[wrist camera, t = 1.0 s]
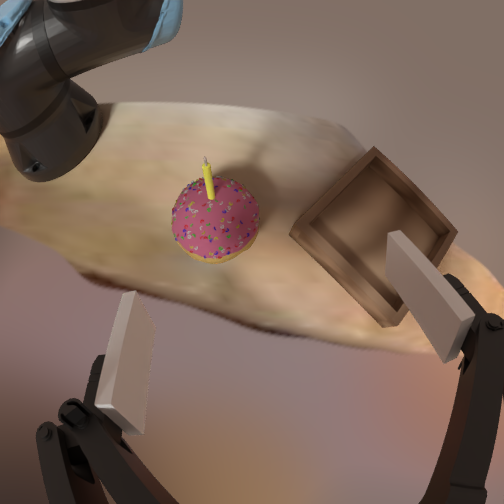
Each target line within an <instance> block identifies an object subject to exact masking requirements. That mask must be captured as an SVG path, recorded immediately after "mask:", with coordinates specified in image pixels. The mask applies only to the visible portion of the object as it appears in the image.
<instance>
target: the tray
mask: <svg viewBox="0 0 504 504" xmlns="http://www.w3.org/2000/svg"><path fill="white" fill-rule="evenodd" d="M398 230H401V231H402V233H403V234H404V235H405V236H406V237H407V238H408V239H409V240H410V241H411V242H412V243H413V244H414V245H415V246H416V247H417V248H418V249H419V250H420V251H421V252H422V253H423V254H424V255H425V257H426V258H427V259H428V260H429V261H430V262H431V263H432V264H433V265H434V266H435V268H436V269H437V267H438V266H439V264H440V262H441V261H442V259H443V257H444V256H445V254H446V252H447V250H448V249H449V247H450V245H451V244H452V242H453V240H454V238H455V236H456V234H457V233H458V231H457V230H456V229H455V227H454V226H453V225H452V224H451V223H450V222H449V221H448V219H447V218H446V217H445V216H444V215H443V214H442V213H441V212H440V211H439V210H438V208H437V207H436V206H435V205H434V204H433V203H432V202H431V201H430V200H429V199H428V198H427V197H426V196H425V195H424V194H423V192H422V191H421V190H420V189H419V188H418V187H417V186H416V185H415V184H414V183H413V182H412V181H411V180H410V179H409V178H408V177H407V176H406V175H405V174H404V173H402V171H400V170H399V169H398V168H397V167H396V166H395V165H394V164H393V163H392V162H391V161H390V160H389V159H388V158H386V157H385V156H384V155H383V154H382V153H381V152H380V151H379V150H378V149H377V148H375V147H374V146H373V147H372V149H370V150H369V151H368V152H367V153H366V154H365V155H364V156H363V157H362V158H361V159H360V160H359V161H358V162H357V163H356V164H355V165H354V166H353V167H352V168H351V169H350V170H349V171H348V172H347V173H346V174H345V175H344V176H343V177H342V178H341V179H340V180H339V181H338V182H337V183H336V184H335V185H334V186H333V187H332V188H331V189H329V190H328V191H327V192H326V193H325V194H324V195H323V196H322V197H321V198H320V199H319V200H318V201H317V202H316V203H315V204H314V205H313V206H312V207H311V208H310V209H309V210H308V211H307V212H306V213H305V214H304V215H303V216H302V217H301V218H300V219H299V220H298V221H297V222H295V224H294V226H293V227H292V229H291V231H290V233H289V235H290V236H291V237H292V238H293V239H294V240H295V241H296V242H297V243H298V244H299V245H300V246H301V247H302V248H303V249H304V250H305V251H306V252H307V253H309V254H310V255H311V256H312V257H313V258H314V259H315V260H316V261H317V262H318V263H319V264H320V265H321V266H322V267H323V268H324V269H325V270H326V271H327V272H328V273H329V274H330V275H331V276H332V277H333V278H334V279H335V280H336V281H337V282H338V283H339V284H340V285H341V286H342V287H343V288H344V289H345V290H346V291H347V292H348V293H349V294H350V295H351V296H352V297H353V298H354V299H355V300H356V301H357V302H358V303H359V304H360V305H361V306H362V307H363V308H364V309H365V310H366V311H367V312H368V313H369V314H370V315H371V316H372V317H373V318H374V319H375V320H376V321H377V322H378V323H379V324H380V325H381V327H382V328H385V327H394V326H398V325H399V323H400V322H401V321H402V319H403V318H404V317H405V315H406V314H407V312H408V311H409V309H408V307H407V306H406V304H405V303H404V301H403V300H402V298H401V297H400V296H399V294H398V293H397V291H396V290H395V288H394V287H393V286H392V284H391V283H390V281H389V280H388V279H387V277H386V276H385V266H386V253H387V236H388V233H389V232H393V231H398Z"/></svg>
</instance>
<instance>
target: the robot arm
mask: <svg viewBox="0 0 504 504" xmlns="http://www.w3.org/2000/svg"><path fill="white" fill-rule="evenodd" d="M182 13H183V0H8V1H6V2H5V3H4V4H2V5H1V6H0V134H1V135H2V136H3V137H4V140H5V142H6V145H7V148H8V150H9V153H10V156H11V158H12V161H13V163H14V165H15V167H16V168H17V170H18V171H19V172H20V173H21V174H22V175H23V176H25V177H26V178H27V179H29V180H31V181H34V182H46V181H50V180H53V179H56V178H58V177H60V176H62V175H64V174H65V173H67V172H68V171H70V170H71V169H72V168H74V167H75V166H76V165H77V164H78V163H79V162H81V160H82V159H83V158H84V157H85V156H86V155H87V154H88V153H89V151H90V150H91V149H92V147H93V146H94V144H95V142H96V140H97V138H98V136H99V134H100V131H101V127H102V113H101V110H100V108H99V106H98V104H97V102H96V101H95V99H94V98H93V97H92V96H91V95H90V94H89V93H87V92H86V91H85V90H84V89H83V88H81V87H80V86H78V85H77V84H76V83H75V82H73V81H72V80H71V79H70V78H72V77H74V76H77V75H79V74H81V73H84V72H86V71H88V70H91V69H94V68H96V67H99V66H102V65H104V64H107V63H110V62H113V61H116V60H119V59H122V58H125V57H128V56H131V55H134V54H137V53H142V52H145V51H147V50H148V49H150V48H153V47H156V46H158V45H162V44H165V43H167V42H169V41H171V40H172V39H173V38H174V37H175V36H176V34H177V33H178V31H179V28H180V25H181V20H182ZM385 276H386V277H387V279H388V280H389V281H390V283H391V284H392V286H393V287H394V288H395V290H396V291H397V293H398V294H399V296H400V297H401V298H402V300H403V301H404V303H405V304H406V306H407V307H408V309H409V310H410V312H411V313H412V315H413V316H414V318H415V319H416V321H417V322H418V324H419V325H420V327H421V328H422V330H423V331H424V333H425V334H426V336H427V338H428V339H429V341H430V342H431V344H432V346H433V347H434V349H435V350H436V352H437V354H438V355H439V357H440V358H441V360H442V362H443V363H447V362H449V361H451V360H453V359H455V358H457V356H458V354H459V352H460V350H462V352H463V353H464V357H463V359H462V361H461V363H460V365H459V367H458V369H460V368H461V372H460V377H459V383H458V388H457V392H456V397H455V402H454V406H453V410H452V414H451V418H450V422H449V425H448V429H447V432H446V436H445V439H444V443H443V446H442V449H441V452H440V456H439V458H438V461H437V464H436V467H435V470H434V472H433V475H432V478H431V480H430V483H429V485H428V488H427V490H426V493H425V495H424V497H423V498H422V500H421V501H420V502H419V504H485V502H486V498H487V490H486V489H485V487H484V486H485V480H486V477H487V473H488V470H489V466H490V462H491V458H492V453H493V449H494V444H495V440H496V434H497V429H498V423H499V417H500V410H501V403H502V394H503V399H504V320H503V319H502V318H501V317H500V316H498V315H496V314H493V313H487V312H486V311H485V310H484V309H483V307H482V306H481V305H480V304H479V303H478V301H477V300H476V299H475V298H474V297H473V295H472V294H471V293H469V291H468V290H467V289H466V287H464V285H463V284H462V283H461V282H460V281H459V279H458V278H456V277H454V276H452V275H451V274H449V273H448V274H446V275H442V274H441V273H440V272H439V271H438V270H437V269H436V268H435V266H434V265H433V264H432V263H431V262H430V261H429V260H428V259H427V258H426V257H425V255H424V254H423V253H422V252H421V251H420V250H419V249H418V248H417V247H416V246H415V245H414V244H413V243H412V242H411V241H410V240H409V239H408V238H407V237H406V236H405V235H404V234H403V233H402V231H401V230H398V231H393V232H389V233H388V236H387V253H386V266H385ZM155 330H156V327H155V325H154V323H153V321H152V320H151V318H150V316H149V314H148V312H147V311H146V309H145V307H144V305H143V304H142V301H141V299H140V297H139V296H138V294H137V292H136V291H131V292H127V293H123V295H122V298H121V302H120V305H119V308H118V312H117V315H116V318H115V322H114V326H113V329H112V333H111V336H110V340H109V344H108V347H107V351H106V354H105V355H98V357H97V358H96V360H95V361H94V363H93V365H92V369H91V372H90V374H91V375H90V377H89V383H88V384H87V388H86V393H85V397H84V401H83V403H82V402H81V401H80V400H78V399H76V398H72V399H69V400H67V401H65V402H64V403H63V404H62V405H61V407H60V409H59V412H58V418H59V421H61V422H62V423H63V425H60V426H56V425H55V424H54V423H52V422H44V423H43V424H41V425H40V426H39V428H38V429H37V432H36V442H37V448H38V454H39V460H40V465H41V470H42V475H43V480H44V484H45V488H46V492H47V496H48V500H49V504H109V503H108V501H107V498H106V496H105V493H104V491H103V488H102V485H101V483H100V480H101V482H102V483H103V485H104V486H105V488H106V489H107V491H108V492H109V494H110V495H111V496H112V498H113V499H114V501H115V502H116V503H117V504H179V503H178V502H177V501H176V500H175V499H174V498H173V497H172V496H171V495H170V494H169V493H168V491H167V490H166V489H165V488H164V487H163V486H162V485H161V484H160V483H159V482H158V480H157V479H156V478H155V477H154V476H153V475H152V473H151V472H150V471H149V470H148V469H147V468H146V466H145V465H144V464H143V463H142V461H141V460H140V459H139V458H138V456H137V455H136V454H135V453H134V451H133V450H132V449H131V448H130V446H129V445H128V444H127V442H126V441H125V440H124V439H123V438H122V437H121V436H122V430H123V431H124V432H125V433H127V434H128V435H144V428H145V416H146V405H147V404H146V403H147V394H148V385H149V375H150V367H151V360H152V352H153V344H154V337H155ZM99 479H100V480H99Z"/></svg>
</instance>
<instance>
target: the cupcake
mask: <svg viewBox="0 0 504 504" xmlns="http://www.w3.org/2000/svg"><path fill="white" fill-rule="evenodd" d="M202 168H203V174H204V177H202V179H201V178H199V179H200V180H198V179H197V180H196V181H195V182H194V181H191V184H188V185H187V187H186V188H183V189H184V190H183V191H182V192H181V194H180V196H179V197H178V199H177V200H176V204H175V206H174V208H173V209H172V223H171V224H172V231H173V234H174V236H175V240H176V241H177V243H178V244H179V245H180V247H181V248H182V249H183V250H184V251H185V252H186V253H187V254H188V255H189V256H190V257H192V258H193V259H195V260H198V261H202V262H206V263H210V264H218V263H223V262H226V261H228V260H231V259H233V258H234V257H236V256H237V255H239V254H240V253H242V252H243V251H245V250H247V249H249V248H250V247H251V245H252V244H253V242H254V241H255V239H256V237H257V234H258V229H259V220H260V218H259V205H258V204H257V202H256V201H255V199H254V197H253V196H252V195H251V194H250V193H249V192H248V190H247V189H246V188H245V187H244V185H243V184H242V185H241V184H240V183H238V182H236V181H234V180H233V179H228V178H223V177H222V176H220V177H219V176H216V177H212V172H211V166H210V164H209V163H207V159H206V157H204V164H203V165H202ZM192 182H193V183H192Z"/></svg>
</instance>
